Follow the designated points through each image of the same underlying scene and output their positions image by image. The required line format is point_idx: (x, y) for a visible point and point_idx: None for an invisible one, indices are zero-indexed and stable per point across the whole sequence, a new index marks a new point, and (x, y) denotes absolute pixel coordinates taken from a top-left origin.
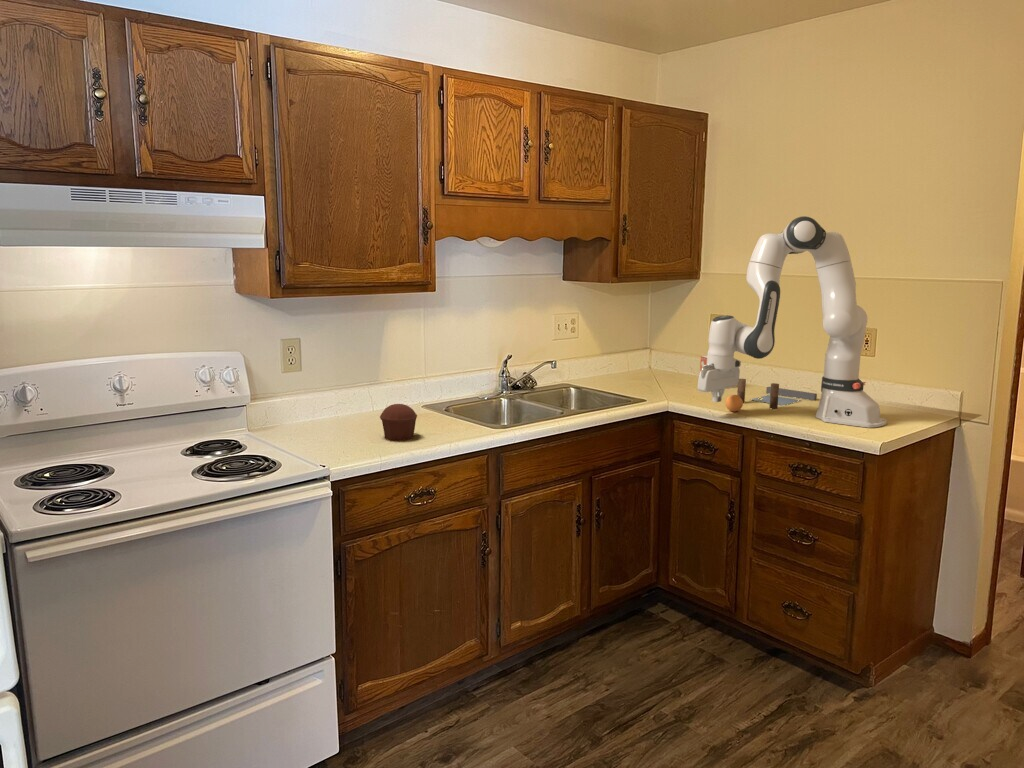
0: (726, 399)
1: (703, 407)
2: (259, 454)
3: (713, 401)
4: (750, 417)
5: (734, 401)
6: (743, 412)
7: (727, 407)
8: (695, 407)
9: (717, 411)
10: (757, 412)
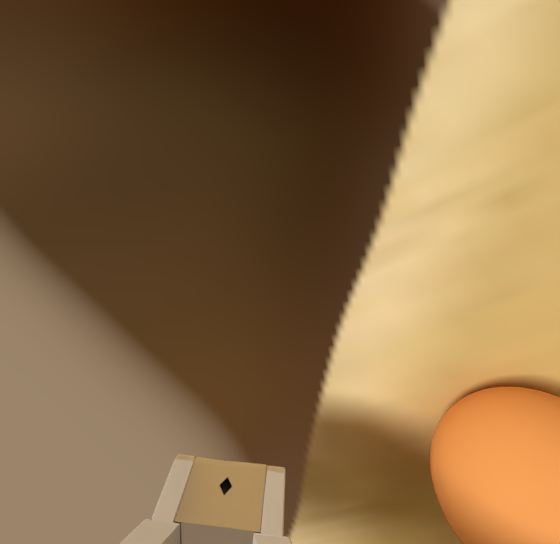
0: (525, 467)
1: (529, 114)
2: None
3: (176, 464)
4: (343, 534)
5: (463, 540)
6: None
7: (450, 414)
8: (473, 27)
9: (398, 320)
10: None
